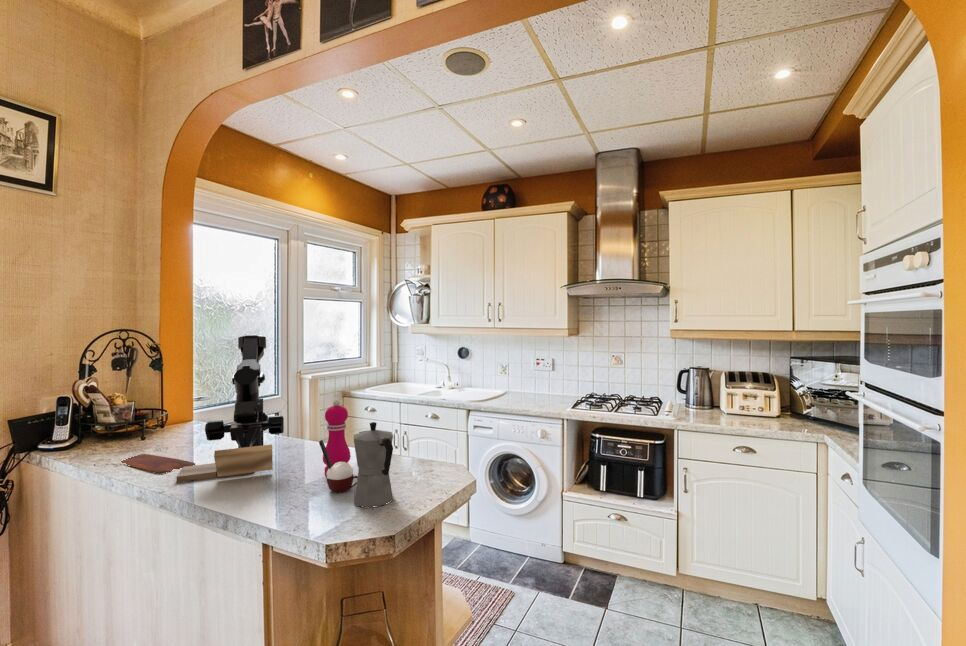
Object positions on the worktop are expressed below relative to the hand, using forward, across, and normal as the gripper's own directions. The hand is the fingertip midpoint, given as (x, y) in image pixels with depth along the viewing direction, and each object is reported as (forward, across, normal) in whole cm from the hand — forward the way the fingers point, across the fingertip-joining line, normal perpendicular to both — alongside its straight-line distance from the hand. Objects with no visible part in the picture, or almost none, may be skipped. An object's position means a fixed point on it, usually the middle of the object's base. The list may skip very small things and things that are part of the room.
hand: (244, 455), depth 116 cm
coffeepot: (+24, +28, -17) cm, 41 cm away
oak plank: (+2, 0, +1) cm, 2 cm away
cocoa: (+17, +22, -9) cm, 29 cm away
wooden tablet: (-14, -26, +25) cm, 38 cm away
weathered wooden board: (-2, -7, +11) cm, 13 cm away
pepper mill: (+8, +22, +1) cm, 24 cm away
